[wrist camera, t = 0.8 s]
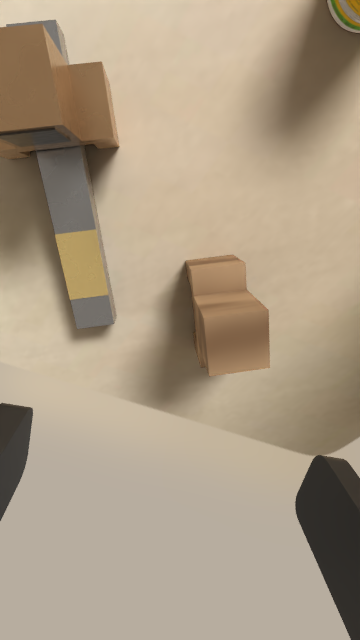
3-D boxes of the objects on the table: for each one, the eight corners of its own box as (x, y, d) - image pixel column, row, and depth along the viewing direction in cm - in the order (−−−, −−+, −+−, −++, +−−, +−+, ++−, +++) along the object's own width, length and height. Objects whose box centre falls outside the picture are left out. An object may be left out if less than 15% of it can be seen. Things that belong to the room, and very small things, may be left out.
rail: (101, 31, 23) (72, -69, 14) (145, 312, 30) (143, 357, 21) (-21, 42, 22) (-124, -53, 14) (52, 324, 29) (13, 375, 21)
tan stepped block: (238, 341, 31) (272, 393, 23) (194, 347, 31) (211, 402, 23) (233, 254, 29) (269, 277, 20) (185, 260, 28) (200, 286, 20)
